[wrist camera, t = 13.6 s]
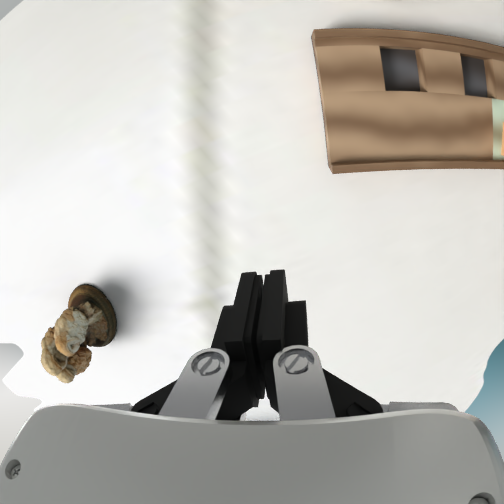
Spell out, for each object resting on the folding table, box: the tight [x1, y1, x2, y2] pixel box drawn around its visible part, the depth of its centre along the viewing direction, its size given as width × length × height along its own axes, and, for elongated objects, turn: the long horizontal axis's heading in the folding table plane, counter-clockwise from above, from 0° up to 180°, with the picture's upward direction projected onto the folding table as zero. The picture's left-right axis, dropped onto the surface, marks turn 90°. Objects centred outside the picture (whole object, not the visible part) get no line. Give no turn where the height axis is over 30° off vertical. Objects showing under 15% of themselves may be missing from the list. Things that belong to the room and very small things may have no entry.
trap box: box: [311, 28, 504, 174], centre depth 32 cm, size 18×34×4 cm, turn 99°
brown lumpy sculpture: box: [41, 284, 117, 383], centre depth 52 cm, size 18×12×17 cm, turn 162°
